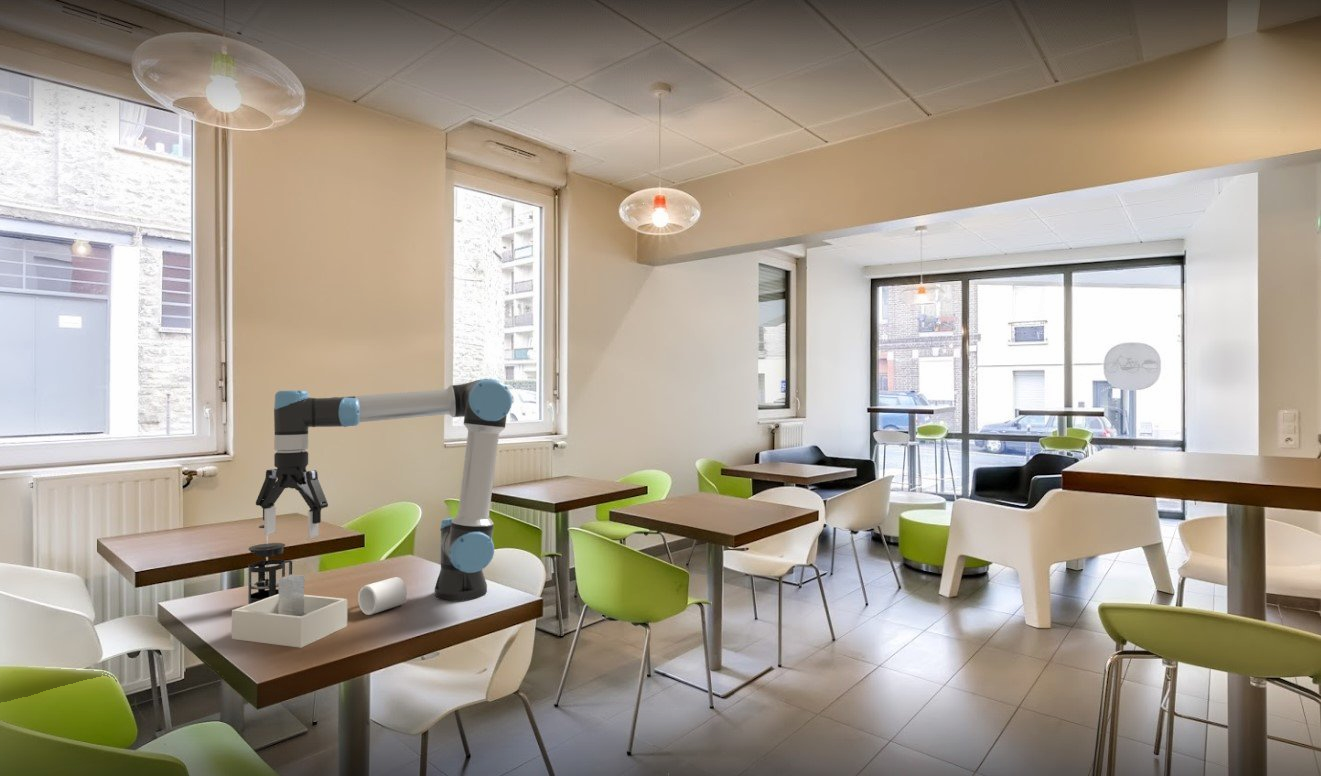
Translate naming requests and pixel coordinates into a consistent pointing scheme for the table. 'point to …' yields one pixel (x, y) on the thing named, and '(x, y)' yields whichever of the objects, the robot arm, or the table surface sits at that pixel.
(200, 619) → the table surface
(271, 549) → the french press
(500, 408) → the robot arm
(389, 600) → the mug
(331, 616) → the box
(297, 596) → the peg
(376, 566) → the table surface
